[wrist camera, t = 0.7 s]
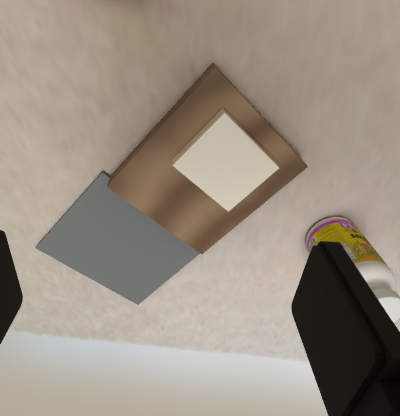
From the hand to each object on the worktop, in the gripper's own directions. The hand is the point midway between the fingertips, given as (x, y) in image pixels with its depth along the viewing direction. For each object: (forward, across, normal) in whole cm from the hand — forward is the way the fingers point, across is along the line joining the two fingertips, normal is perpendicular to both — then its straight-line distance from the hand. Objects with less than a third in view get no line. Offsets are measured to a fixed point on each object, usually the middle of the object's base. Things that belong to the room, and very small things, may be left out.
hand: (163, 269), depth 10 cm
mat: (+25, +6, +20) cm, 32 cm away
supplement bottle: (+26, -21, +17) cm, 37 cm away
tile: (+23, -5, +6) cm, 24 cm away
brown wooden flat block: (+25, -4, +8) cm, 27 cm away
